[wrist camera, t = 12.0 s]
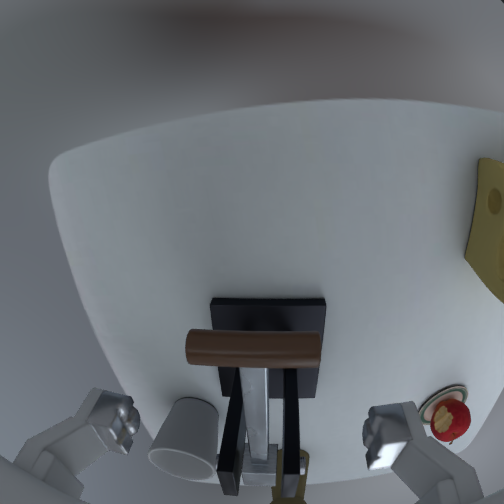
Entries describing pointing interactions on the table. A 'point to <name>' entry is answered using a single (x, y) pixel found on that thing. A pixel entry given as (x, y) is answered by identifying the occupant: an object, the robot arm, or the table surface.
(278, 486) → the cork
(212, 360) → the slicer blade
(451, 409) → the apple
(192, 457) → the cup
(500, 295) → the cheese
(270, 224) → the table surface
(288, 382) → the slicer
